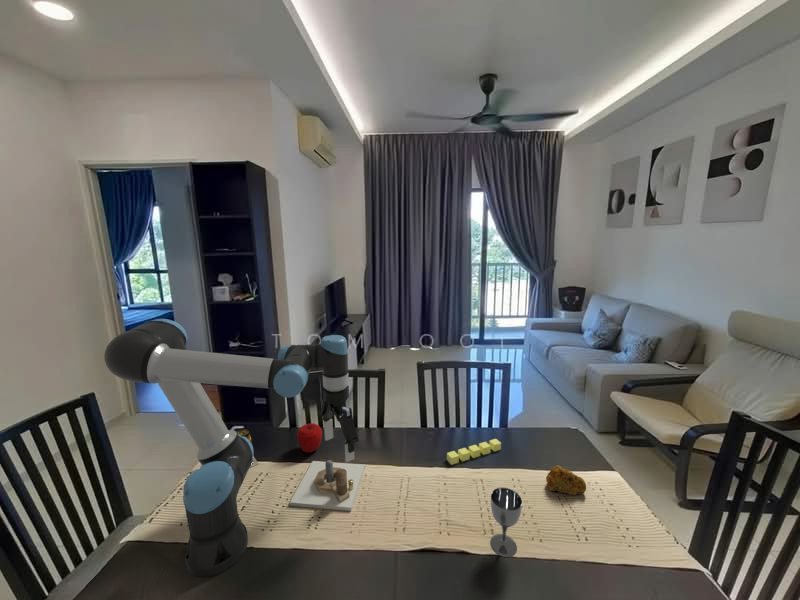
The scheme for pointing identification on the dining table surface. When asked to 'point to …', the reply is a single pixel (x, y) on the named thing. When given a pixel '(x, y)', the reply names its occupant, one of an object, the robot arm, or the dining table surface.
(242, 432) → the condiment
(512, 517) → the wine glass
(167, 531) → the dining table surface
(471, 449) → the yellow cube row
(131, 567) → the dining table surface
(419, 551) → the dining table surface
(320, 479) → the tan nut with handle
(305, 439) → the apple
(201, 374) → the robot arm
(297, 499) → the board
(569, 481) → the brown lumpy piece
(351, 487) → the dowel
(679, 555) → the dining table surface
